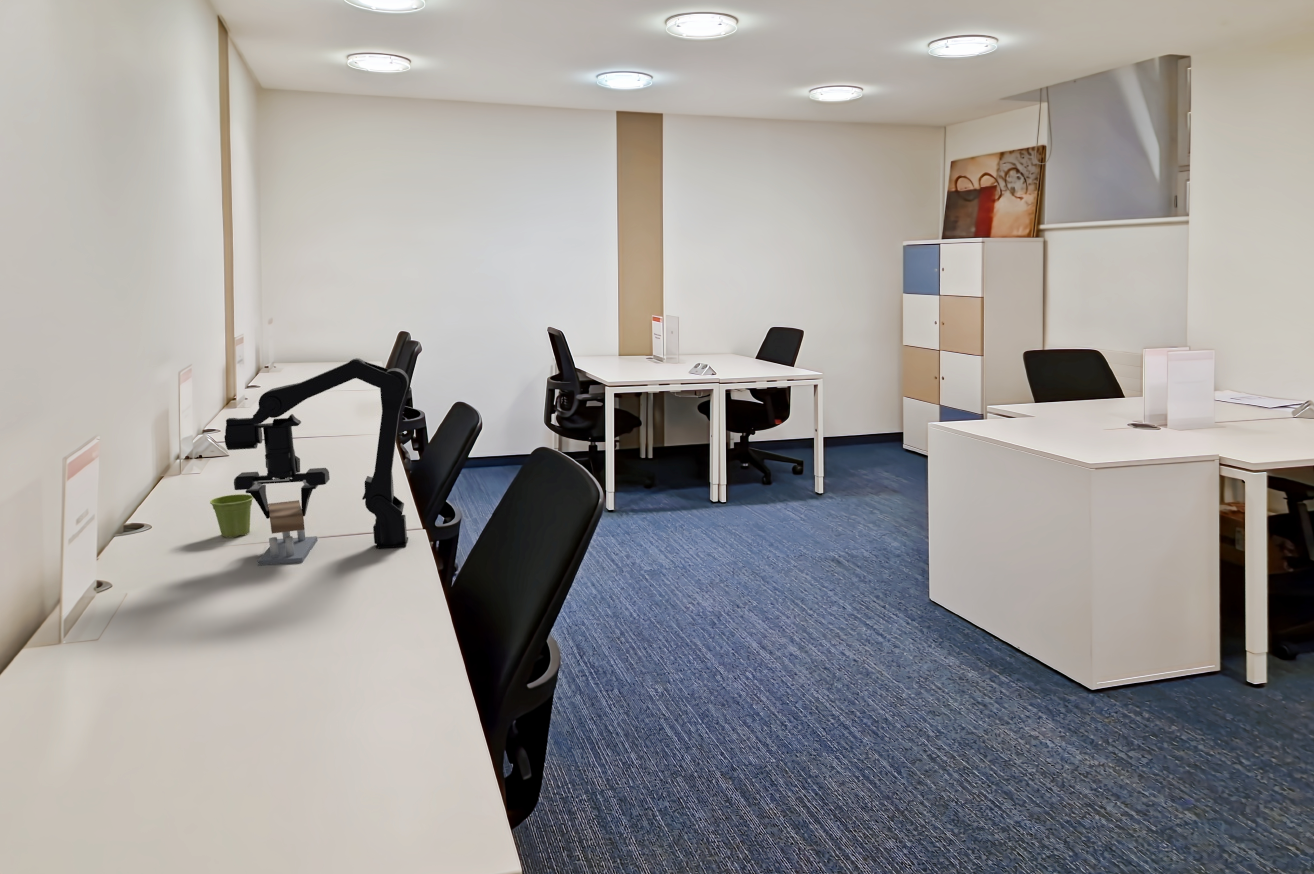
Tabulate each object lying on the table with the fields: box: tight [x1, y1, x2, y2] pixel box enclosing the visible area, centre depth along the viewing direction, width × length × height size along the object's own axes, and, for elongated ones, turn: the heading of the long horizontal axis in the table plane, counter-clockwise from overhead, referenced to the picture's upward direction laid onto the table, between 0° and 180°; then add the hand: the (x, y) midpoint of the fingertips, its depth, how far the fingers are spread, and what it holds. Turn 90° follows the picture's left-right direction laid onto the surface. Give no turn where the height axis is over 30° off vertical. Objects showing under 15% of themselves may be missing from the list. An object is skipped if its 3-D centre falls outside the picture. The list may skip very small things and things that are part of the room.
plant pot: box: [209, 493, 254, 538], centre depth 224 cm, size 9×9×9 cm
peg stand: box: [257, 529, 318, 566], centre depth 208 cm, size 17×9×5 cm, turn 9°
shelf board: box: [268, 499, 306, 535], centre depth 207 cm, size 16×6×3 cm, turn 24°
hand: (286, 517), depth 207 cm, fingers closed on shelf board, 7 cm apart
